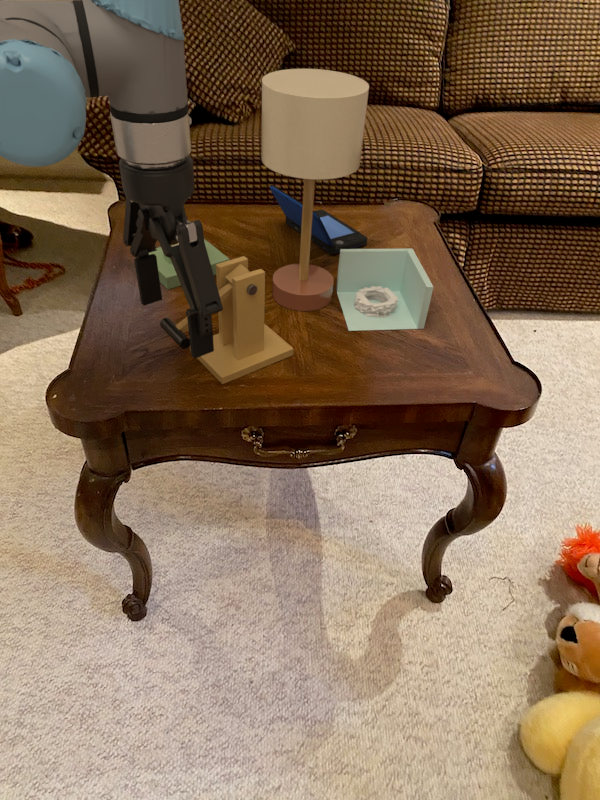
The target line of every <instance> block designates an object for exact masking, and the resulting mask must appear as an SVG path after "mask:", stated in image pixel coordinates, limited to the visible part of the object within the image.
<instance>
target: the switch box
mask: <svg viewBox="0 0 600 800" xmlns="http://www.w3.org/2000/svg"><path fill="white" fill-rule="evenodd" d="M204 242H205V246H206V250H207V253H208V257H209V260H210V264H211V267H212V271H213V274H214V276H216V264H219V263H222V262H225V261H229V260H231V259H230V258H229V257H228V256H226V254H224V253H222V252H221V251H220V250H219V249H218V248H217V247H215V246H214V245H213V244H211V243H210V241H208V240H206V239H205V238H204ZM171 247H172V245H171ZM156 249H157V251H154V252H150V253H149V255H151V254H155V255H156V257H157V265H158V272H159V280H160V285H163V287H164V288H165V289H166V290H170V289H171V290H172V289H175V288H178V287H182V286H181V284H180V281H179V279H178V276H177V274H176V271H175V269H174V266H173V264H172V261H171V259H170V258H169V257H166V256H165V255H164V253H163V250H162V248H161V246H158V247H156Z"/></svg>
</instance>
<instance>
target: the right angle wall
mask: <svg viewBox="0 0 600 800" xmlns="http://www.w3.org/2000/svg"><path fill="white" fill-rule="evenodd" d="M431 281H432V280H431V279H430V278H429V276H428V274H427V272H426V270H425V268H424V267H423V265H422V264H421V262H420V259H419V258H418V256H417V254H416V252H415V251H414V248H406V247H405V248H352V249H340V252H339V258H338V267H337V277H336V286H335V292H336V295H337V298H338V300H339V304H340V307H341V310H342V314H343V318H344V321H345V323H346V326H347V330H348V332H352V331H353V332H354V331H356V332H357V331H358V332H359V331H390V330H391V331H392V330H394V331H396V330H424V329H425V325H426V321H427V317H428V312H429V308H430V304H431V301H432V295H433V291H434V284H433V283H432V282H431Z"/></svg>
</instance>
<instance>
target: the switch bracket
mask: <svg viewBox="0 0 600 800" xmlns="http://www.w3.org/2000/svg"><path fill="white" fill-rule="evenodd" d="M240 264H241V265H243V266H244V267H245V268H246V269H248V270H249V258H248V257H246V256H245V255H242V256H239V257H235V258H233V259H230V260H229V261H225V262H222V263H219V264H216V275H215V276H216V277H215V278H216V279H215V280H216V285H217V288H218V291H219V290H220V289H221V288H223V287H224V286H225V285H226V284H228V282H227V280H226V279H225V276H226V275H228V274H229V273H230V272H231V271H233V270H234V269H235V268H236V267H238V266H239V265H240ZM265 300H266V271H264V270H263V269H262V268H259V269H258V268H257V269H255V270H252V271H250V272H249V273H245V274H242V275H239V276H236V277H233V278H232V295H230V296H229V297H228V298H227V299H225V300H224V301H223V302H222V306H223V310H222V311H220V312H217V317H218V319H217V320H218V333H217V334H213V344H214V351H213V352H210V353H208V354H205V355H203V356H200V357H197V358H196V359H197V360H198V361H199V362H200V363H201V364H202V366H204V367H205V368H206V369H207V370H208V371H209V372H210V374H211V375H213V377H214V378H216V380H217V381H218V382H219V383H220V384H221V385H224V384H227V383H229V382H232V381H234V380H236V379H239V378H242V377H244V376H246V375H249V374H251V373H253V372H256V371H258V370H260V369H264V368H266V367H268V366H270V365H273V364H276V363H277V362H280V361H282V360H285V359H287V358H290V357H292V356H294V352H295V351H294V349H295V348H294V347H292V346H291V345H290V344H289V343H288V342H286V341H285V340H284V338H282V337H281V336H280V335H278V334H277V333H276V332H275V331H274V330H273V329H272V328H270V327H269V326H268V325H267V324H266V323H265V312H266V311H265V309H266V308H265V307H266V306H265V302H266V301H265ZM189 351H190V352H191V348H190V347H189Z"/></svg>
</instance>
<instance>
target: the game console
mask: <svg viewBox="0 0 600 800" xmlns="http://www.w3.org/2000/svg"><path fill="white" fill-rule="evenodd" d="M269 189H270V191H271V193H272V195H273V197H274V198H275V200H276V202H277V203H278V206H279V207H280V209H281V210H282V212H283V214H284V216H285V225H286V226H288V227H289V228H292V229H293V230H294V231H295V232H297V233H299V234H300V235H301V224H302V206H303V202H301V201H299V200H298V199H296V198H295V197H293V196H291V195H289V193H287V192H285V191H283V190H281V189H280V188H278V187H277V186H276V185H274V184H270V185H269ZM368 239H369V238H368V237H367V236H366V235H365V234H363V233H361V232H360V231H359V230H357V229H355V228H353V227H352V226H350V225H349V224H347V223H345V222H344V221H343V220H341V219H339V218H337V217H336V216H335V215H333V214H332V213H330V212H328V211H326V210H324V209H317V210H313V217H312V231H311V243H313V244H315V245H316V246H317V247H319V248H320V249H322V250H323V251H325V253H327V254H329V255H330V256H334V255H336V254H338V253H340V249H357V248H359V247H363V246H365V245H367V244H368V241H369V240H368Z"/></svg>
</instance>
